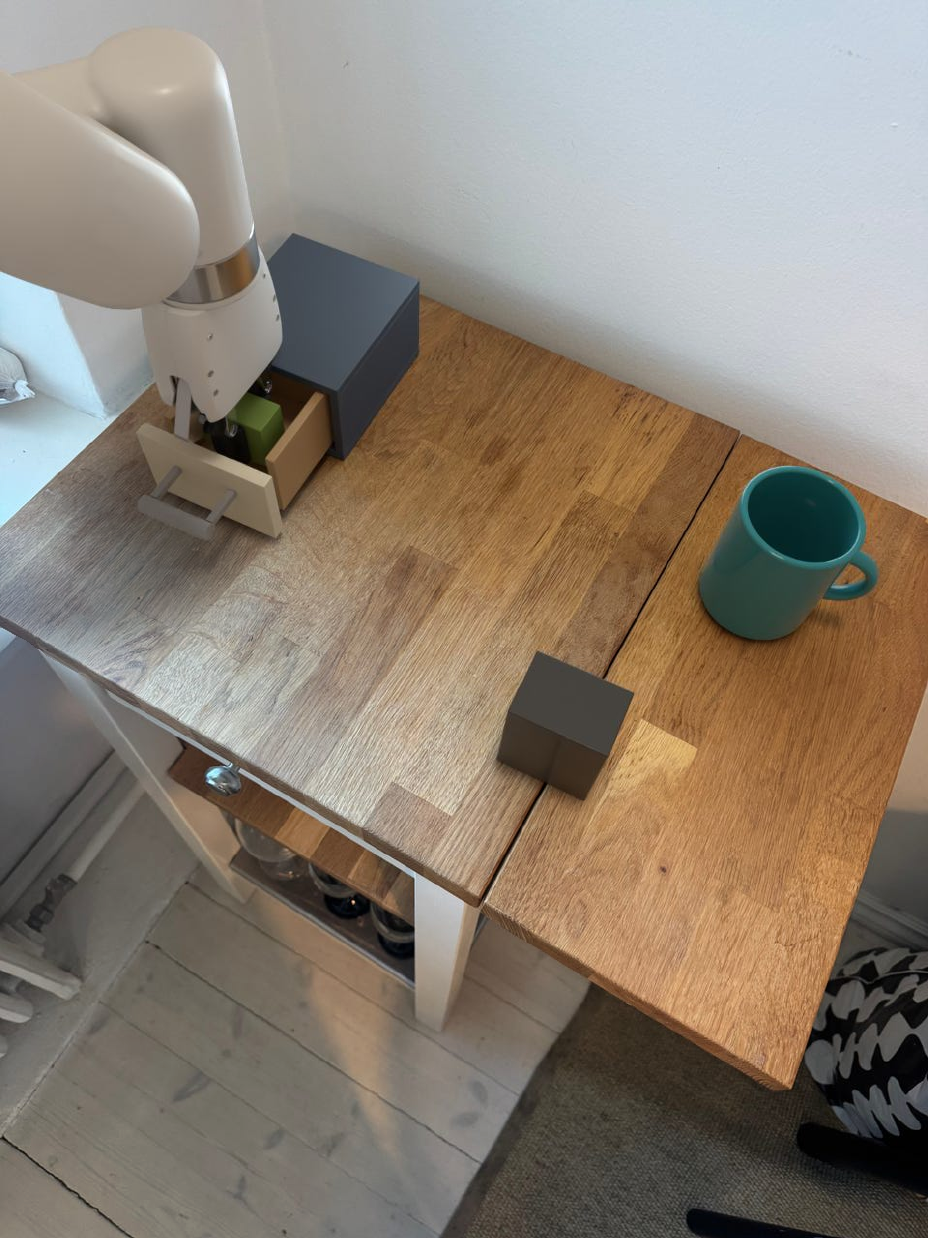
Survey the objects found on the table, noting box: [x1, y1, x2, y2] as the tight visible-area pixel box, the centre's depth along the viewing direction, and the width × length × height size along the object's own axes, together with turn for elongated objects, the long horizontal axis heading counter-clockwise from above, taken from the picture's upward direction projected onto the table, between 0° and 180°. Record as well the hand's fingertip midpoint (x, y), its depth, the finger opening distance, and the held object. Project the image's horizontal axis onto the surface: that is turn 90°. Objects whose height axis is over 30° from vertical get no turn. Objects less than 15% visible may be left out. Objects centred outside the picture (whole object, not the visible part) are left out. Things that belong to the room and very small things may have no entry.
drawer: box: [135, 371, 334, 542], centre depth 73 cm, size 18×11×7 cm, turn 155°
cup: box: [698, 465, 880, 641], centre depth 68 cm, size 9×12×11 cm
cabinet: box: [266, 232, 421, 461], centre depth 79 cm, size 15×13×9 cm
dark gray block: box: [496, 650, 635, 801], centre depth 62 cm, size 7×5×9 cm
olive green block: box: [204, 392, 285, 467], centre depth 72 cm, size 6×3×4 cm, turn 65°
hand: (245, 438), depth 73 cm, fingers closed on olive green block, 3 cm apart
